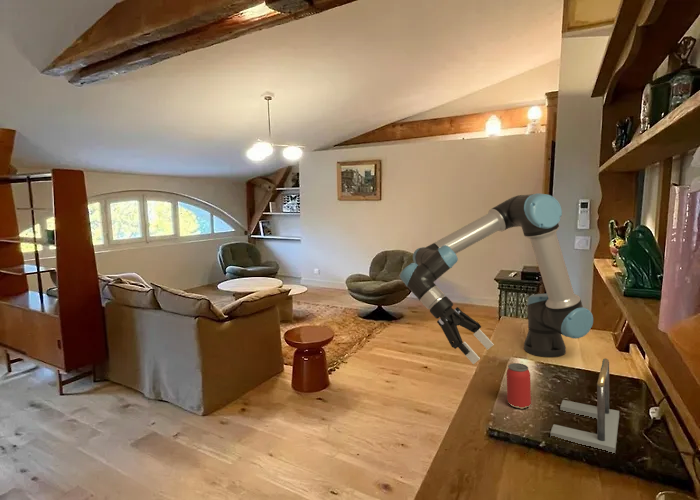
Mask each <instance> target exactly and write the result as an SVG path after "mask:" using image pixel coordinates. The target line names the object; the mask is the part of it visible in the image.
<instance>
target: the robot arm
mask: <svg viewBox="0 0 700 500" xmlns="http://www.w3.org/2000/svg"><path fill="white" fill-rule="evenodd" d="M562 215H563V209H562V206H561V204H560V202H559V201H558V199H557V198H555V197H554V196H552V195H551V194H547V193H546V194H545V193H531V194H521V195H515V196H513V197H511V198H508V199H506V200H505V201H503V202H501V203H499V204H497V205H496V206H494V207H492V208H490V209H489V210H488V213H486V214H485V215H482V216H480V218H477V219H475V220H473V221H471V222H470V223H468V224H467V225H464V226H462V227H461V228H458V229H456V230H455V231H453V232H451V233H449V234H447V235H446V236H444V237H442V238H440V239H438V240H437V241H435V242H433V243H431V244H429V245H428V246H426V247H425V246H424V247H423V246H422V247H419V248H417V249H416V250H414V252H413V254H412V262H411V263H410V264H409V265H406V266H405V268H403V269H402V271H401V272H400V275H399V278H400V280H401V281H402V282H403V283H404V285H405V286H406V287H407V288H408V290H409V291H411V293H412V294H413V295H414V296H415V297H416V298H417V299H418V300H419V301H420V302H421V304H422V306H424V307H425V308H426V309H427V310H429V313H431V315H432V316H433V317H434V318H435V319H437V321H436V322H437V324H438V325H439V326H440V328H441V330H442V332H443V334H444V335H445V337H446V339H447V341H448V342H449V344H450V346H451V348H454V349H455V350H456V349H457V348H458V349H459V350H460V351H461V352H462V353H463V355H464V356H465V357H466V358H467V359H468V360H469V361H470V363H472V365H475V364H476V363H477V362H478V361H479V360H480V359H481V358H480V356H478V354H477V353H476V352H475V351H474V350H473V348H472V347H471V346H470V345H469V344H468V343H467V342H466V341H463V339H462V336H461V334H460V331H459V329H458V326H460V327H462V328H464V329H466V330H468V331H469V332H472V333H473V336H474V337H475V338H476V339H477V340H478V342H480V344H482V346H483V347H484V348H485V349H486V350H487V351H488V350H489V349H491V348H492V347H493V346H494V345H495V344H494V343H493V342H492V340H490V338H489V337H488V336H487V335H486V334H485V333H484V332H483V331H482V330H481V328H482V325H481V324H480V323H479V322H478V321H476V320H475V319H473V318H472V317H471V316H469V315H468V314H466V313H465V312H464V311H462V309H460V307H458V306H456V307H455V308H454V309H453V306H454V302H453V301H451V300H450V297H447V296H445V293H444V292H443V291H442V290H441V288H439V287H438V285H436V283H435V282H436V281H437V280H438V279H439V278H441V277H442V276H443V275H444V274H445V273H446V272H448V271H449V270H450V269H451V268H453V267H454V265H456V263H458V261H459V259H458V255H457V254H458V253H460V252H462V251H464V250H466V249H467V248H469V247H471V246H472V245H475V244H476V243H479V242H480V241H482V240H484V239H486V238H487V237H490V236H491V235H493V234H495V233H497V232H504V231H506V230H509V229H511V228H516V227H517V228H518V227H521V230H522V232H523V236H524V237H525V238H527V239H529V240H530V243H531V246H532V249H533V254H534V256H535V259H536V260H535V261H536V262H537V266H538V269H539V273H540V276H541V279H542V283H543V285H544V288H545V292H546V293H536V294H532V295H529V296H528V298H527V323H528V325H527V327H528V331H527V334H526V337H525V340H524V342H523V343H524V345H523V350H524V351H525V352H527V353H528V354H530V355H532V356H537V357H543V358H556V357H557V358H558V357H561V356H564V355H565V354H566V351H567V347H566V344H565V341H564V338H563V336H564V337H565V338H566V337H567V338H571V339H580V338H583V337H585V336H587V334H589V332H590V331H591V328H593V324H594V315H593V313H592V311H590V309H588V308H586V307H584V306H583V303H582V302H583V301H582V300H581V299H582V298H581V297H580V296H579V295H578V294H576V293H574V290H573V285H572V283H571V279H570V275H569V272H568V269H567V266H566V265H567V264H566V262H565V259H564V255H563V251H562V249H561V245H560V242H559V239H558V235H557V231H559V228H560V225H559V223H560V221H561V217H562Z"/></svg>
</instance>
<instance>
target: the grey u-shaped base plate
mask: <svg viewBox="0 0 700 500" xmlns="http://www.w3.org/2000/svg"><path fill="white" fill-rule="evenodd" d="M559 408H560V410H563V411H566V412H571V413H575V414H574V415H576V414H579V415H578V416H580V415H584V416H583V417H585V416H589V417H588V418H590V417H592V418H591V419H594V418H596V419H595V420H597V405H596V406H595V405H591V404H587V403H580V402H576V401H575V402H574V401H571V400H567V399H562V401H561V404H560V407H559ZM566 412H565V413H566ZM571 413H570V414H571ZM619 421H620V410H616V409H610V408H609V414H605V441H600V440H598V439H597V433H594V432H589V431H585V430H580V429H576V428H572V427H568V426H564V425H559V424H553V425H552V427H551V430H550V433H549V434H550V437H551V436H555V437H558V438H561V439H564V440H568V441H571V442H575V443H578V444H582V445H586V446H591V447H594V448H598V449H602V450H606V451H608V452H607V453H609V452H612V453H611V454H613V453H615V454H616V450H617V441H618V440H617V439H618V431H619V430H618V429H619V424H620V423H619Z"/></svg>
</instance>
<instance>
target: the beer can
mask: <svg viewBox="0 0 700 500" xmlns="http://www.w3.org/2000/svg"><path fill="white" fill-rule="evenodd" d="M507 366H508V367H507V369H506V395H507V396H506V397H507V398H506V399H507V400H508V402H509V403H510V404H512V405H514V406H519V407H525V406H529V405H530V404H531V405H532V398H531V397H532V391H531V389H532V387H531V386H532V385H531V384H532V383H531V371H530V370H529V366H528V365H526V364H523V363H515V362H514V363H510V364H508V365H507ZM508 402H507V403H508Z"/></svg>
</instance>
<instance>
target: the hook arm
mask: <svg viewBox="0 0 700 500" xmlns="http://www.w3.org/2000/svg"><path fill="white" fill-rule="evenodd" d="M596 398H597V400H596V402H597V404H596V406H597V419H596V421H597V423H596V426H597V427H596V429H597V432H596V434H597V439H598V440H600V441H605V414H609V409H610V361H609V359H608V358H603V359H602V362H601V366H600V371H599V373H598V379H597V383H596Z"/></svg>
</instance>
